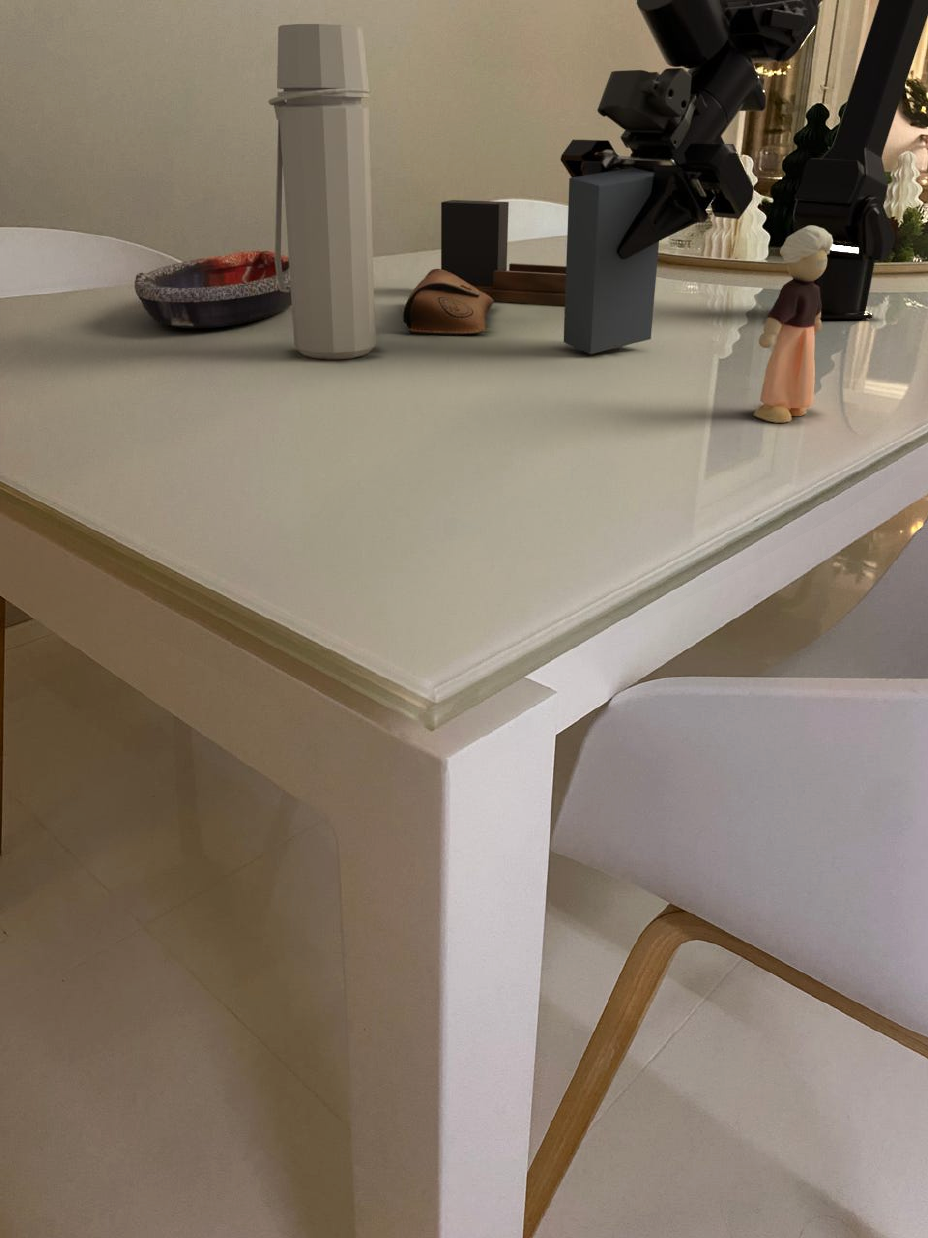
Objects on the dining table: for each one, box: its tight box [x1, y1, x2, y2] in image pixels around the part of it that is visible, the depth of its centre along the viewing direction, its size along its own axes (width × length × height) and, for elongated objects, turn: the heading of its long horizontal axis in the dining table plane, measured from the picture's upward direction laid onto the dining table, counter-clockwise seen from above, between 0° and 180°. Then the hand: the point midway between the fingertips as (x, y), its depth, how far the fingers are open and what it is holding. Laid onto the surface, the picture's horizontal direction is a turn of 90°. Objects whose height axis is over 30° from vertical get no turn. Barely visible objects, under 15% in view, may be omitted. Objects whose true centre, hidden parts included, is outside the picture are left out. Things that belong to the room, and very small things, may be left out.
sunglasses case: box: [402, 268, 495, 336], centre depth 105 cm, size 18×7×7 cm
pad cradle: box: [440, 199, 566, 307], centre depth 118 cm, size 18×10×10 cm, turn 72°
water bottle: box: [267, 23, 376, 361], centre depth 84 cm, size 9×8×25 cm
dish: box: [134, 250, 292, 329], centre depth 107 cm, size 16×31×5 cm, turn 171°
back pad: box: [563, 168, 660, 355], centre depth 88 cm, size 7×4×14 cm, turn 122°
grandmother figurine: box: [753, 226, 834, 424], centre depth 70 cm, size 8×4×13 cm, turn 148°
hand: (598, 252), depth 87 cm, fingers closed on back pad, 5 cm apart
